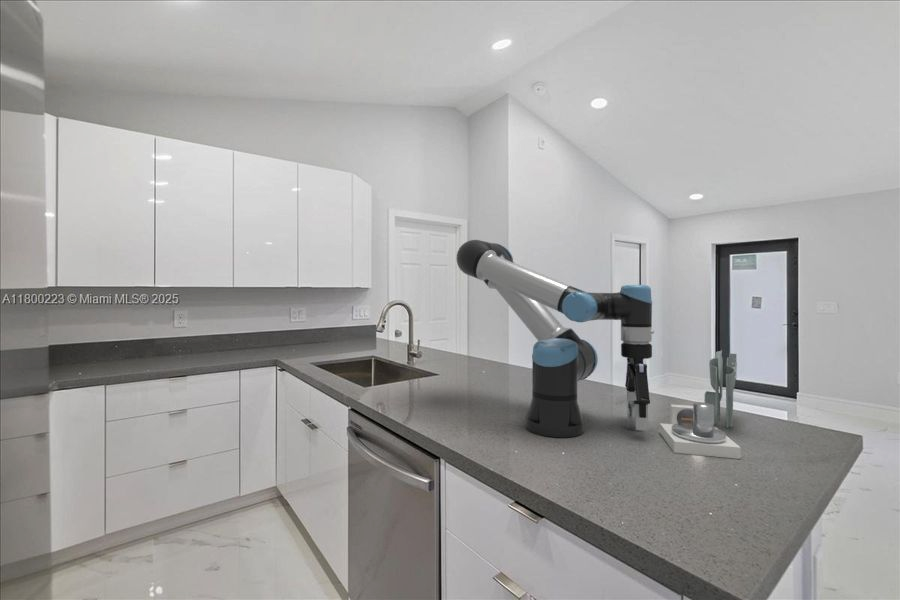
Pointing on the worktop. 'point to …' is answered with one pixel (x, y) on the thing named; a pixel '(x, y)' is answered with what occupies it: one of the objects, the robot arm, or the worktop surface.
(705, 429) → the grey metal knob
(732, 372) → the bracket
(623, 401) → the worktop surface
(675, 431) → the pan
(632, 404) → the cylinder
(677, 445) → the scale
